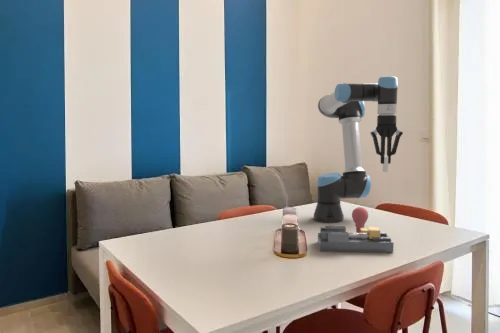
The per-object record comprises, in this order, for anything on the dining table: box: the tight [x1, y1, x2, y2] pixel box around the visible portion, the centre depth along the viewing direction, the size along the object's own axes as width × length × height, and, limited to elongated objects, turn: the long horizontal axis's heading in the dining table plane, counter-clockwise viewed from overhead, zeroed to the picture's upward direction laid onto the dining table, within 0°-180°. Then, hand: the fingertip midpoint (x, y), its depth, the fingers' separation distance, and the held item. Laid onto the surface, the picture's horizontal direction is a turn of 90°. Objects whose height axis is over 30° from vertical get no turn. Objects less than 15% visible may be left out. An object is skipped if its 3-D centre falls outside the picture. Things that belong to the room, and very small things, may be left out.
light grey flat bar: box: [348, 232, 369, 238], centre depth 168 cm, size 18×3×1 cm, turn 85°
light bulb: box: [351, 206, 369, 233], centre depth 186 cm, size 7×7×12 cm
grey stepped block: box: [317, 225, 394, 253], centre depth 168 cm, size 28×12×7 cm, turn 85°
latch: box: [360, 226, 381, 239], centre depth 167 cm, size 7×5×4 cm
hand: (385, 171), depth 174 cm, fingers closed
